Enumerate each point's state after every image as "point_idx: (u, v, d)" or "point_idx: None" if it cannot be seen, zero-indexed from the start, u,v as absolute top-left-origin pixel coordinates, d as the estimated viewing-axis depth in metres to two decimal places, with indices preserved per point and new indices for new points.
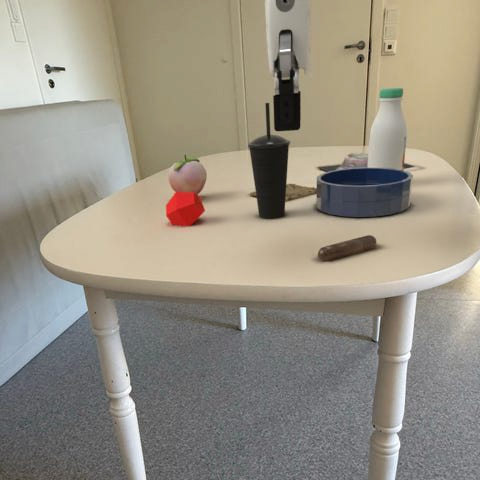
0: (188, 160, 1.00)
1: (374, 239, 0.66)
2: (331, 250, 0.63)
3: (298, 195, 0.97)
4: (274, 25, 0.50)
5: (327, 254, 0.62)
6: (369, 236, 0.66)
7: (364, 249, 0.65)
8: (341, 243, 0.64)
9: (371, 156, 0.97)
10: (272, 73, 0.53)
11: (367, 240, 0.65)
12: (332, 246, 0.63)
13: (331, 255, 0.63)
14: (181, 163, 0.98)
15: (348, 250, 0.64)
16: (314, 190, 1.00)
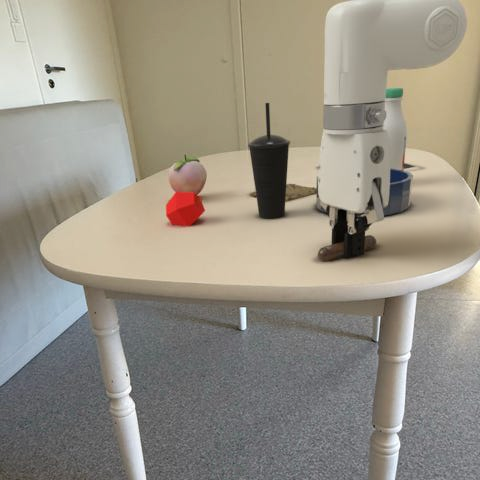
0: (188, 160, 1.00)
1: (374, 239, 0.66)
2: (331, 250, 0.63)
3: (298, 195, 0.97)
4: (368, 174, 0.55)
5: (327, 254, 0.62)
6: (369, 236, 0.66)
7: (364, 249, 0.65)
8: (341, 243, 0.64)
9: None
10: (360, 212, 0.58)
11: (367, 240, 0.65)
12: (332, 246, 0.63)
13: (331, 255, 0.63)
14: (181, 163, 0.98)
15: None
16: (314, 190, 1.00)
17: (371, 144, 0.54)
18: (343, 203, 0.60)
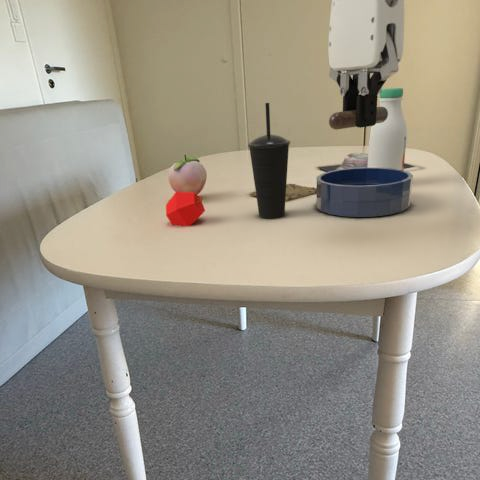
0: (188, 160, 1.00)
1: (386, 109, 0.64)
2: (343, 115, 0.61)
3: (298, 195, 0.97)
4: (383, 18, 0.54)
5: (339, 118, 0.61)
6: (380, 107, 0.64)
7: (376, 119, 0.64)
8: (353, 110, 0.62)
9: (371, 156, 0.97)
10: (374, 64, 0.56)
11: (379, 109, 0.64)
12: (344, 112, 0.62)
13: (343, 120, 0.61)
14: (181, 163, 0.98)
15: None
16: (314, 190, 1.00)
17: None
18: (356, 60, 0.58)
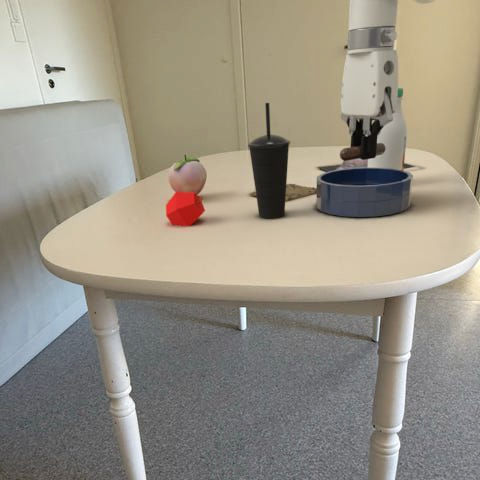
0: (188, 160, 1.00)
1: (383, 145, 0.84)
2: (350, 150, 0.81)
3: (298, 195, 0.97)
4: (382, 83, 0.73)
5: (347, 153, 0.80)
6: (380, 143, 0.84)
7: (376, 153, 0.83)
8: (358, 146, 0.82)
9: None
10: (375, 115, 0.76)
11: (378, 145, 0.83)
12: (351, 147, 0.81)
13: (350, 154, 0.81)
14: (181, 163, 0.98)
15: None
16: (314, 190, 1.00)
17: (384, 59, 0.72)
18: (361, 110, 0.78)
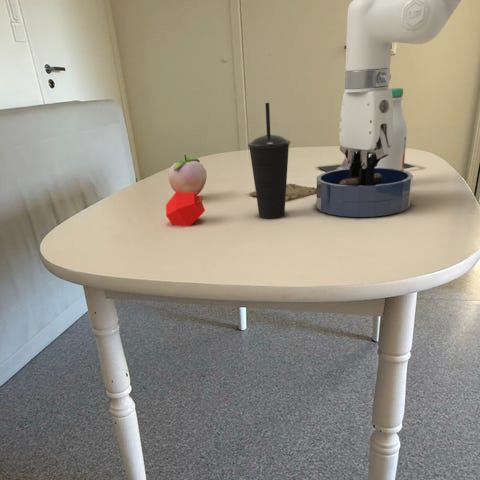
0: (188, 160, 1.00)
1: (381, 176, 0.87)
2: (349, 182, 0.84)
3: (298, 195, 0.97)
4: (377, 121, 0.77)
5: (346, 184, 0.84)
6: (377, 173, 0.88)
7: None
8: (356, 177, 0.86)
9: None
10: (371, 149, 0.80)
11: (375, 176, 0.87)
12: (349, 179, 0.85)
13: None
14: (181, 163, 0.98)
15: None
16: (314, 190, 1.00)
17: (380, 98, 0.76)
18: (358, 145, 0.82)
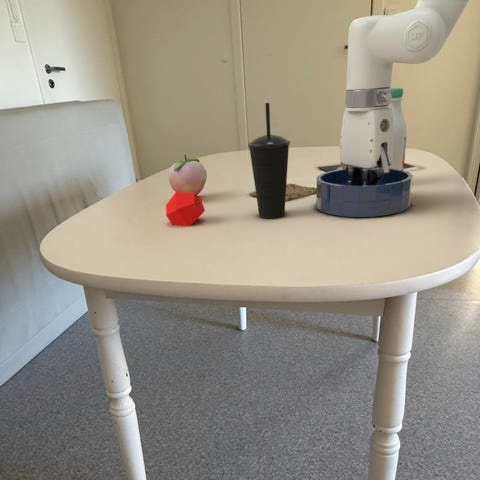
0: (188, 160, 1.00)
1: None
2: None
3: (298, 195, 0.97)
4: (378, 139, 0.77)
5: None
6: None
7: None
8: None
9: None
10: (372, 168, 0.80)
11: None
12: None
13: None
14: (181, 163, 0.98)
15: None
16: (314, 190, 1.00)
17: (380, 117, 0.76)
18: (359, 162, 0.82)
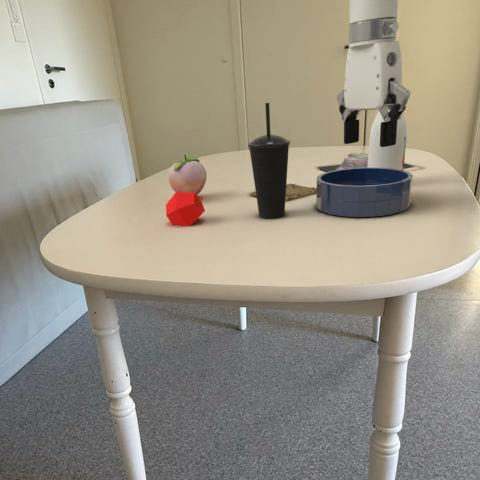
0: (188, 160, 1.00)
1: None
2: None
3: (298, 195, 0.97)
4: (385, 75, 0.72)
5: None
6: None
7: None
8: None
9: (371, 156, 0.97)
10: (379, 107, 0.75)
11: None
12: None
13: None
14: (181, 163, 0.98)
15: None
16: (314, 190, 1.00)
17: (387, 50, 0.71)
18: (365, 103, 0.77)
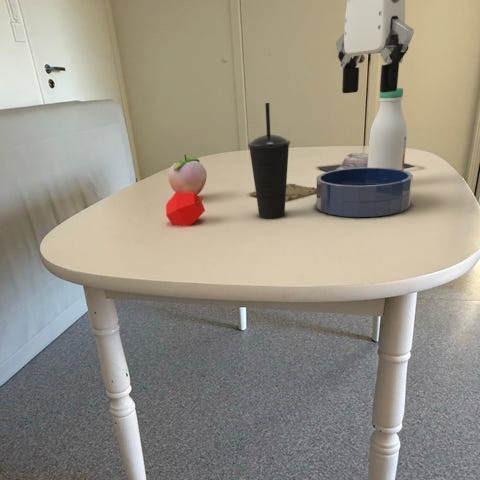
0: (188, 160, 1.00)
1: None
2: None
3: (298, 195, 0.97)
4: (388, 12, 0.68)
5: None
6: None
7: None
8: None
9: (371, 156, 0.97)
10: (381, 48, 0.71)
11: None
12: None
13: None
14: (181, 163, 0.98)
15: None
16: (314, 190, 1.00)
17: None
18: (366, 45, 0.73)
